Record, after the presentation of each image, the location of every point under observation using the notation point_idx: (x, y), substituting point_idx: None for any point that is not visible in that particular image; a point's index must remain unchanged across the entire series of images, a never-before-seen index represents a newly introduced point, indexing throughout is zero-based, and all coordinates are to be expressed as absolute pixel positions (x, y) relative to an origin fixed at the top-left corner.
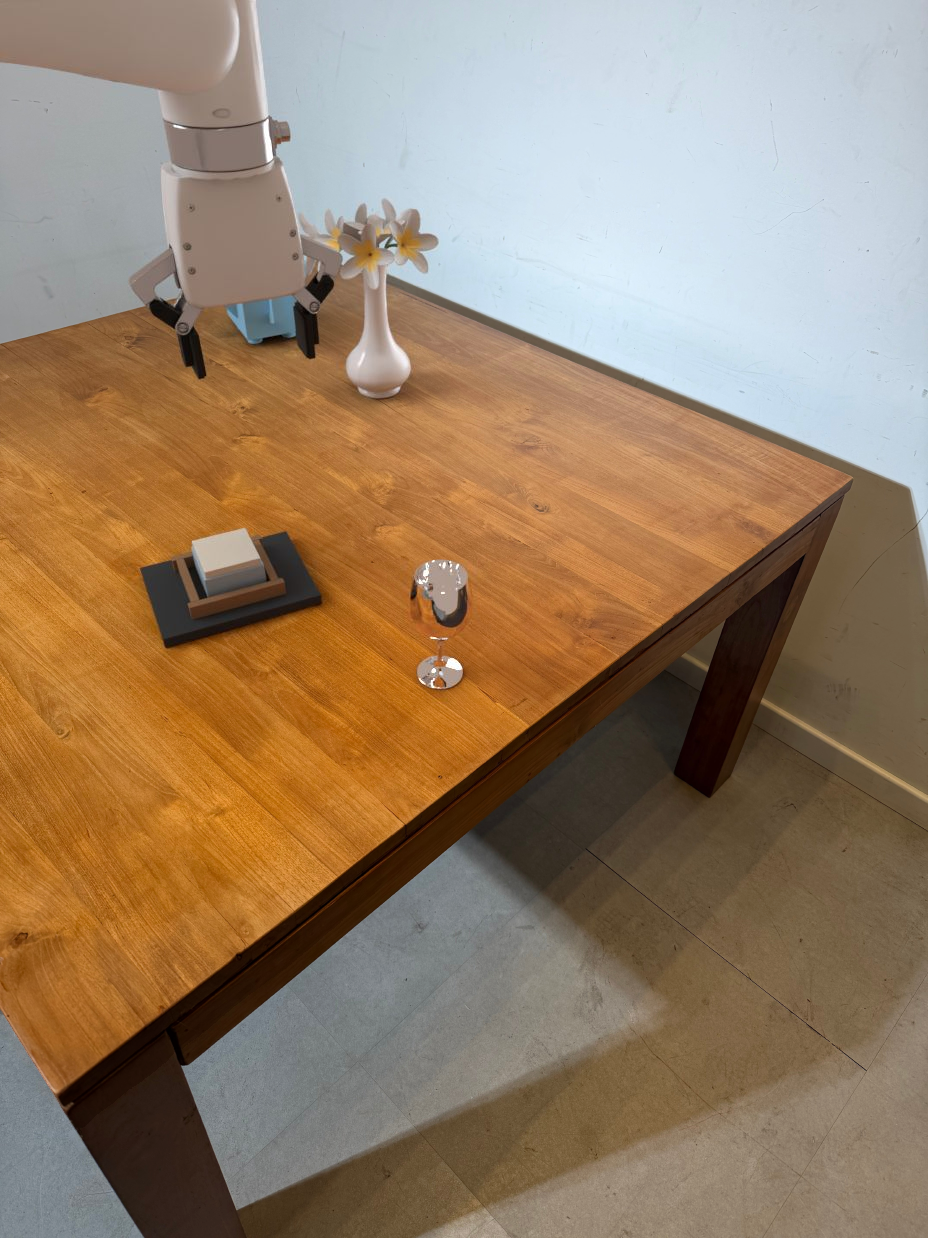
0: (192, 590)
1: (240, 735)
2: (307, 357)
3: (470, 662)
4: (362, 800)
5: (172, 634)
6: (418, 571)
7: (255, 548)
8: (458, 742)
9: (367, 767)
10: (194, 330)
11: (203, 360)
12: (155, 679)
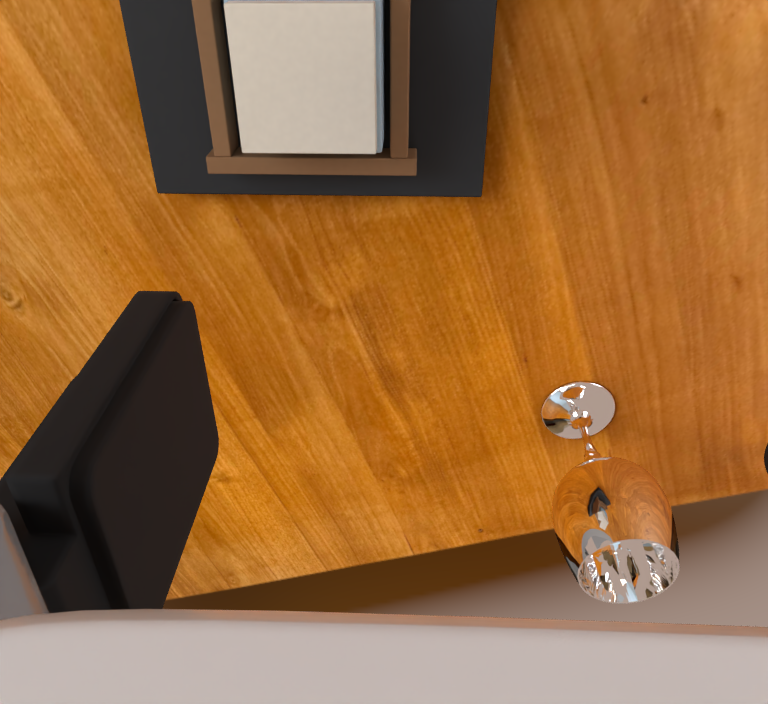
0: (218, 119)
1: (265, 397)
2: (765, 463)
3: (632, 410)
4: (383, 522)
5: (175, 188)
6: (605, 533)
7: (380, 79)
8: (528, 505)
9: (407, 493)
10: (118, 600)
11: (194, 514)
12: (147, 251)
